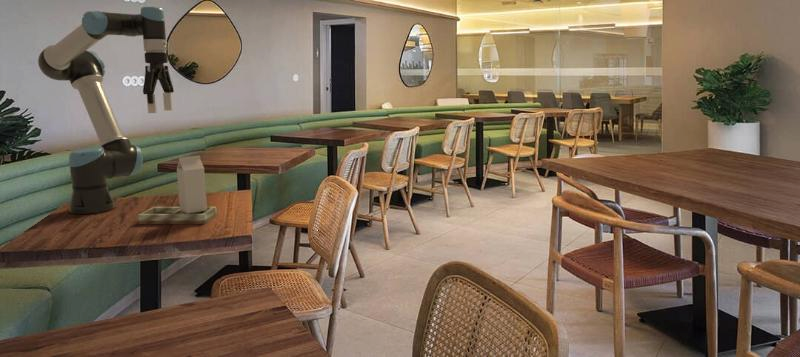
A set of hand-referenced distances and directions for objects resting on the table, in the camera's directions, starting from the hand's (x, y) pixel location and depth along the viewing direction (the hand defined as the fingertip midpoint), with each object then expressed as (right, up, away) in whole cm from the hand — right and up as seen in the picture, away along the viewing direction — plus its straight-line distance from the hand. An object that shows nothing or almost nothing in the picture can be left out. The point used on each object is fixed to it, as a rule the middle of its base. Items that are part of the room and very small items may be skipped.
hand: (160, 111), depth 217 cm
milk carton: (+15, -36, -8) cm, 40 cm away
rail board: (+9, -39, -8) cm, 40 cm away
